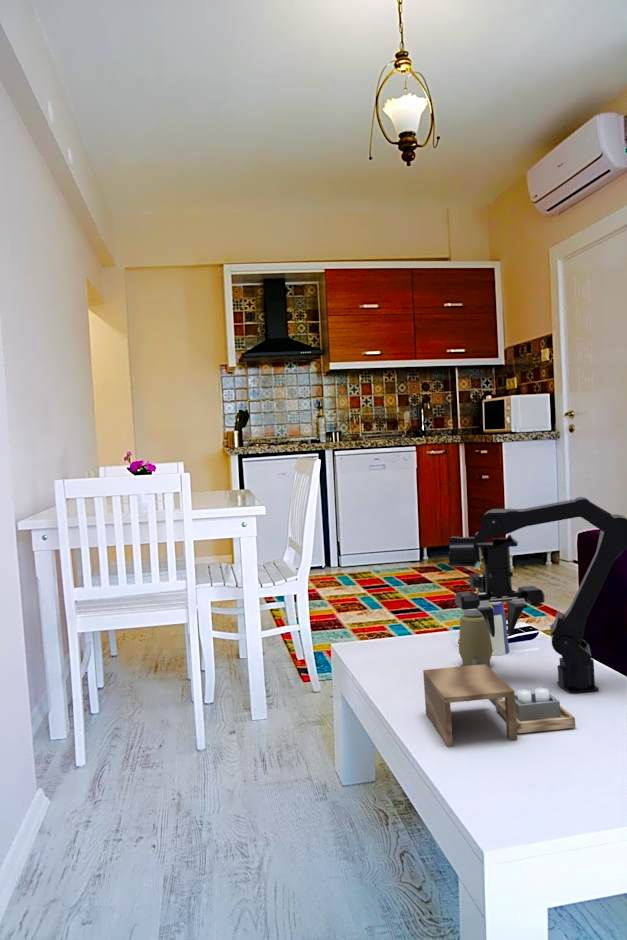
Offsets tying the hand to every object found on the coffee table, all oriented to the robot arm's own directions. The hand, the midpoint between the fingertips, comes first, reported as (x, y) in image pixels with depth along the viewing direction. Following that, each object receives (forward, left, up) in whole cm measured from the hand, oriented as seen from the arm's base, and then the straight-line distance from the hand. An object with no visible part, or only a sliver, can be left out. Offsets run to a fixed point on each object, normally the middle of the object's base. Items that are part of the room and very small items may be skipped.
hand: (501, 635), depth 153 cm
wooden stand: (+14, +20, -11) cm, 27 cm away
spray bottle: (-6, -24, -11) cm, 27 cm away
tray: (+1, +20, -10) cm, 22 cm away
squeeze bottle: (+2, -14, -11) cm, 18 cm away
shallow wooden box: (+1, +12, -11) cm, 16 cm away
